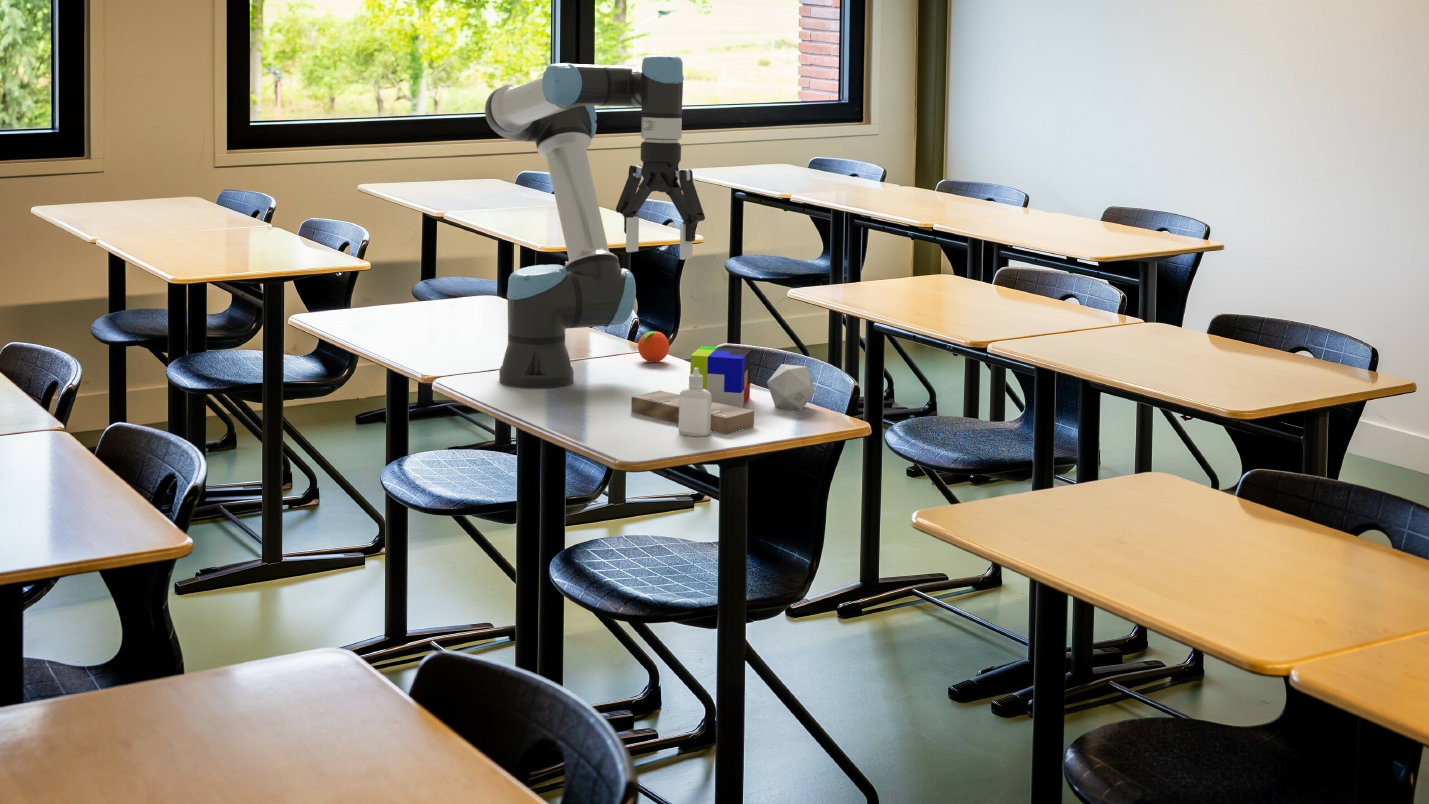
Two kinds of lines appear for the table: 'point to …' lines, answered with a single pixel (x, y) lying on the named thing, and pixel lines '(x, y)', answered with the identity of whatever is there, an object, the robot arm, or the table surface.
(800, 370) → the die
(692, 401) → the eye dropper bottle
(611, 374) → the table surface
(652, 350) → the clementine
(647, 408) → the walnut block
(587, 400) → the table surface
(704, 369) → the puzzle toy
